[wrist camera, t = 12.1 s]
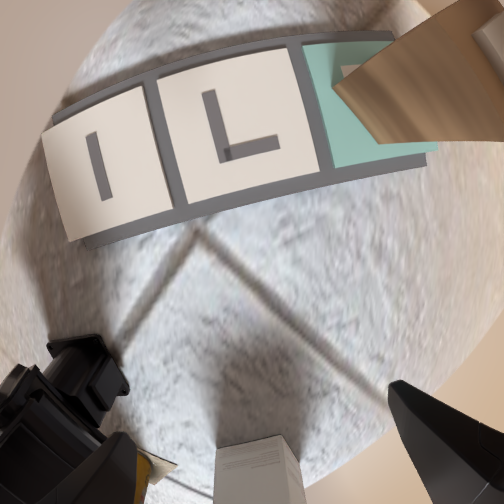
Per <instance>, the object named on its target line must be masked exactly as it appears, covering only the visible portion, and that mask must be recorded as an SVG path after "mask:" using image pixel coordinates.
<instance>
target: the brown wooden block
mask: <svg viewBox="0 0 504 504" xmlns="http://www.w3.org/2000/svg"><path fill="white" fill-rule="evenodd" d="M332 89H333V90H334V92H335V93H336V94H337V95H338V96H339V97H340V98H341V99H342V101H343V102H344V103H345V104H346V105H347V106H348V107H349V109H350V110H351V111H352V112H353V113H354V115H355V116H356V117H357V118H358V119H359V121H360V122H361V123H362V124H363V126H364V127H365V128H366V129H367V131H368V132H369V133H370V134H371V136H372V137H373V138H374V139H375V141H376V142H377V143H378V145H380V144H394V143H411V142H436V141H494V142H504V8H503V6H502V5H501V3H500V2H499V1H498V0H458V1H457V2H455V3H453V4H452V5H450V6H448V7H446V8H445V9H443V10H441V11H440V12H438V13H437V14H435V15H433V16H432V17H430V18H428V19H427V20H425V21H424V22H422V23H421V24H419V25H417V26H416V27H414V28H413V29H411V30H410V31H408V32H407V33H405V34H404V35H402V36H401V37H399V38H398V39H396V40H395V41H394V42H392V43H391V44H389V45H388V46H386V47H385V48H383V49H382V50H381V51H379V52H378V53H376V54H375V55H374V56H372V57H371V58H370V59H368V60H367V61H366V62H364V63H363V64H362V65H360V66H359V67H358V68H357V69H355V70H354V71H353V72H351V73H350V74H349V75H348V76H346V77H345V78H344V79H342V80H341V81H340V82H339V83H337V84H336V85H335V86H334V87H332Z"/></svg>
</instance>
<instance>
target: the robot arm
mask: <svg viewBox="0 0 504 504" xmlns="http://www.w3.org/2000/svg"><path fill="white" fill-rule="evenodd" d="M95 339H96V340H97V341H98V342H97V341H95ZM51 346H52V347H51ZM46 347H47V349H48V351H49V353H50V354H51V356H52V358H53V361H52V362H51V363H50V364H49V366H48V367H47V368H46V370H45V371H44V372H43V373H41V372H40V371H39V370H40V369H39V368H38V367H37V366H36V364H34V365H33V366H31V367H30V368H27V367H25V366H22V365H20V364H17V365H16V366H15V367H14V368H13V369H12V371H11V372H10V373H9V374H8V375H7V376H6V378H5V379H4V380H3V382H2V383H1V385H0V504H134V499H135V492H136V481H137V446H136V444H135V443H134V442H133V441H132V439H131V438H130V437H129V436H128V434H127V433H125V432H114V433H113V434H112V435H111V436H110V437H109V438H107V437H106V436H105V435H104V434H102V433H101V432H100V431H99V430H98V429H97V428H99V427H100V425H101V423H102V421H103V418H104V416H105V414H106V412H107V411H110V409H111V407H112V405H113V402H114V400H115V398H116V396H127V395H128V394H129V392H130V389H129V387H128V385H127V384H126V382H125V380H124V378H123V377H122V375H121V373H120V371H119V370H118V368H117V366H116V364H115V362H114V361H113V359H112V357H111V355H110V354H109V352H108V350H107V348H106V346H105V344H104V342H103V340H102V338H101V337H100V336H99V335H97V334H92V335H86V336H79V337H73V338H67V339H60V340H53V341H49V342H48V343H47V345H46ZM124 390H125V391H124ZM388 404H389V407H390V410H391V413H392V415H393V418H394V421H395V423H396V426H397V429H398V432H399V434H400V437H401V440H402V442H403V444H404V446H405V448H406V450H407V452H408V454H409V456H410V458H411V460H412V462H413V464H414V466H415V468H416V470H417V472H418V474H419V476H420V478H421V480H422V482H423V484H424V486H425V488H426V490H427V492H428V494H429V496H430V498H431V500H432V502H433V504H504V433H502V432H499V431H497V430H495V429H493V428H491V427H489V426H487V425H485V424H483V423H479V421H477V420H475V419H473V418H471V417H469V416H467V415H465V414H464V413H462V412H460V411H458V410H456V409H454V408H452V407H450V406H449V405H447V404H445V403H443V402H441V401H439V400H437V399H436V398H434V397H432V396H430V395H428V394H427V393H425V392H423V391H421V390H419V389H417V388H416V387H414V386H412V385H410V384H409V383H407V382H405V381H403V380H397V381H394V382H391V383H390V384H389V386H388Z"/></svg>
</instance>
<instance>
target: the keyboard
mask: <svg viewBox="0 0 504 504" xmlns="http://www.w3.org/2000/svg"><path fill="white" fill-rule="evenodd" d="M394 41H395V39H394V36H393V34H392V31H338V32H322V33H311V34H301V35H293V36H285V37H279V38H272V39H266V40H260V41H255V42H250V43H245V44H240V45H235V46H231V47H226V48H222V49H218V50H214V51H210V52H206V53H203V54H199V55H195V56H192V57H189V58H185V59H182V60H179V61H176V62H172V63H169V64H166V65H163V66H161V67H158V68H155V69H152V70H149V71H147V72H144V73H141V74H139V75H136V76H134V77H131V78H129V79H126V80H124V81H121V82H119V83H117V84H114V85H112V86H110V87H107V88H105V89H103V90H101V91H99V92H97V93H94V94H92V95H90V96H88V97H86V98H84V99H82V100H80V101H78V102H76V103H74V104H72V105H71V106H69V107H67V108H65V109H63V110H61V111H59V112H58V113H56V114H54V115H52V118H53V124H54V127H52V128H50V129H49V130H47V131H45V132H43V133H42V134H41V137H42V143H43V148H44V153H45V158H46V162H47V167H48V171H49V175H50V179H51V183H52V187H53V191H54V195H55V198H56V202H57V206H58V209H59V212H60V216H61V219H62V222H63V225H64V229H65V232H66V235H67V238H68V241H69V242H72V241H75V240H77V239H80V238H83V240H84V243H85V246H86V249H87V251H88V250H91V249H94V248H97V247H101V246H104V245H107V244H110V243H113V242H117V241H120V240H123V239H126V238H130V237H133V236H136V235H140V234H143V233H146V232H150V231H153V230H156V229H160V228H163V227H167V226H170V225H174V224H177V223H181V222H184V221H188V220H192V219H195V218H199V217H203V216H206V215H210V214H214V213H217V212H221V211H225V210H229V209H233V208H237V207H240V206H244V205H248V204H252V203H256V202H260V201H264V200H268V199H273V198H277V197H281V196H285V195H289V194H293V193H298V192H302V191H306V190H311V189H315V188H320V187H324V186H329V185H333V184H338V183H343V182H347V181H352V180H357V179H362V178H367V177H371V176H376V175H382V174H387V173H392V172H397V171H402V170H408V169H413V168H419V167H424V166H427V163H426V156H425V152H430V151H437V150H438V145H437V141H436V142H411V143H394V144H380V145H378V143H377V142H376V141H375V139H374V138H373V137H372V136H371V134H370V133H369V132H368V131H367V129H366V128H365V127H364V126H363V124H362V123H361V122H360V121H359V119H358V118H357V117H356V116H355V115H354V113H353V112H352V111H351V110H350V109H349V107H348V106H347V105H346V104H345V103H344V102H343V101H342V99H341V98H340V97H339V96H338V95H337V94H336V93H335V92H334V90H333V89H332V87H334V86H335V85H336V84H337V83H339V82H340V81H341V80H342V79H344V78H345V77H346V76H348V75H349V74H350V73H351V72H353V71H354V70H355V69H357V68H358V67H359V66H360V65H362V64H363V63H364V62H366V61H367V60H368V59H370V58H371V57H372V56H374V55H375V54H376V53H378V52H379V51H381V50H382V49H383V48H385V47H386V46H388V45H389V44H391V43H392V42H394Z"/></svg>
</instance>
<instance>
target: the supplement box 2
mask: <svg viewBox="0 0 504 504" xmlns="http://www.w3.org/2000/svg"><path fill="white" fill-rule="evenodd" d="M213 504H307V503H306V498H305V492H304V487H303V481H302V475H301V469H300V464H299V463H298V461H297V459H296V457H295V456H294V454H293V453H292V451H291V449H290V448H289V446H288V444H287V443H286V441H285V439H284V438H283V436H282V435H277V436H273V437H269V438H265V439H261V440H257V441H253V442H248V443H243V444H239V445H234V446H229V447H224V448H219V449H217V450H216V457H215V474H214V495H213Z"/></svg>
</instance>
